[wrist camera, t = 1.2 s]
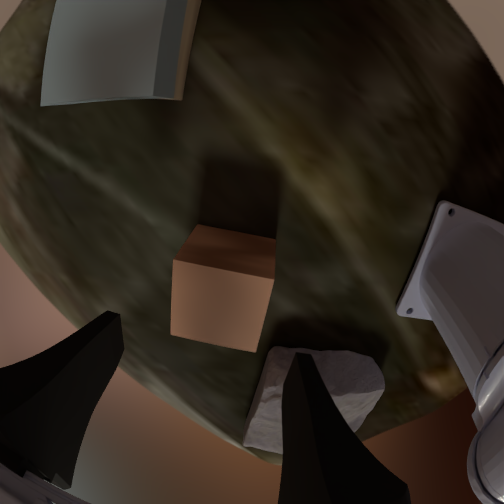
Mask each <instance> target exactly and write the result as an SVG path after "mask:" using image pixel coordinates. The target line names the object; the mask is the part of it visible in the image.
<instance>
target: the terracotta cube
mask: <svg viewBox="0 0 504 504" xmlns="http://www.w3.org/2000/svg"><path fill="white" fill-rule="evenodd" d="M275 248H276V239H271V238H266V237H261V236H256V235H251V234H246V233H241V232H236V231H231V230H225V229H220V228H215V227H210V226H204V225H199V224H197V226H196V227H195V229H194V230H193V231H192V233H191V234H190V236H189V237H188V239H187V240H186V242H185V243H184V244H183V246H182V247H181V249H180V250H179V252H178V253H177V255H176V256H175V258H174V259H173V276H172V301H171V335H175V336H179V337H183V338H188V339H192V340H196V341H201V342H205V343H210V344H215V345H220V346H224V347H229V348H234V349H240V350H245V351H250V352H256V349H257V345H258V341H259V338H260V334H261V330H262V326H263V322H264V319H265V315H266V311H267V307H268V303H269V299H270V295H271V291H272V287H273V283H274V278H275Z"/></svg>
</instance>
